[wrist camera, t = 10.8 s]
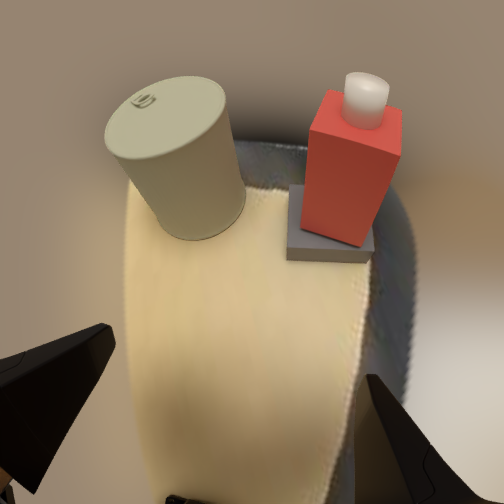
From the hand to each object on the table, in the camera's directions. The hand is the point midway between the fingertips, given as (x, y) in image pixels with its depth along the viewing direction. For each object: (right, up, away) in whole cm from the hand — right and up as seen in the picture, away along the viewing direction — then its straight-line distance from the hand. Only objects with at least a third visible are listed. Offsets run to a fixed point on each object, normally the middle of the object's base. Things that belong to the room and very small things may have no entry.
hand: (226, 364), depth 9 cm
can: (-4, +9, +19) cm, 22 cm away
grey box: (+8, +5, +17) cm, 19 cm away
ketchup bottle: (+8, +7, +14) cm, 17 cm away
